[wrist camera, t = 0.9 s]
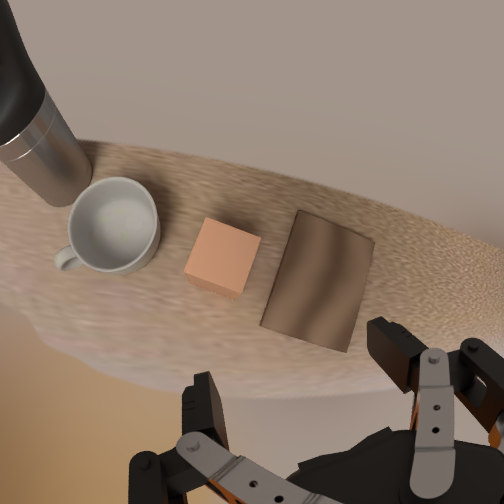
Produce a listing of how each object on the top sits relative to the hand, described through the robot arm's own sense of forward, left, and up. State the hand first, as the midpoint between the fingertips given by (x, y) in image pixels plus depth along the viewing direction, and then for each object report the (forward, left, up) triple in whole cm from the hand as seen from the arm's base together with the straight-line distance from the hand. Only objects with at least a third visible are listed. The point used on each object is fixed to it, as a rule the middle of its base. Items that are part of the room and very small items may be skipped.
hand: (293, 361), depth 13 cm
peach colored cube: (-5, +7, -23) cm, 25 cm away
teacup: (-19, +5, -24) cm, 31 cm away
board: (+8, +10, -23) cm, 26 cm away
